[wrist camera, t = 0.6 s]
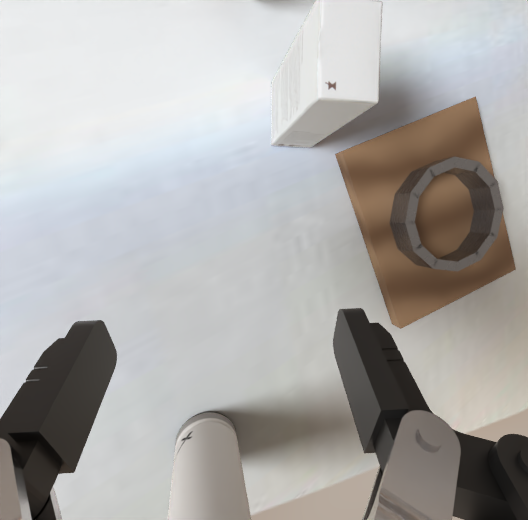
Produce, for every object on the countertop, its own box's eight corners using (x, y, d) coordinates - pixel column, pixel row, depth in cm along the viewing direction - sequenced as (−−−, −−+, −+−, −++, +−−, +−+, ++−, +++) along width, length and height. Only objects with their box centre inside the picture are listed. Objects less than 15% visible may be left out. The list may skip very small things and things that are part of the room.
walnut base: (335, 154, 31) (342, 151, 30) (463, 101, 33) (475, 96, 32) (392, 324, 35) (400, 328, 34) (503, 267, 37) (515, 269, 36)
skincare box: (311, 148, 31) (380, 106, 19) (269, 146, 30) (315, 100, 18) (313, 83, 30) (385, -2, 18) (270, 79, 29) (318, -14, 17)
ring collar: (377, 185, 31) (393, 183, 29) (466, 147, 33) (487, 141, 30) (408, 282, 33) (424, 287, 31) (489, 242, 35) (511, 244, 32)
